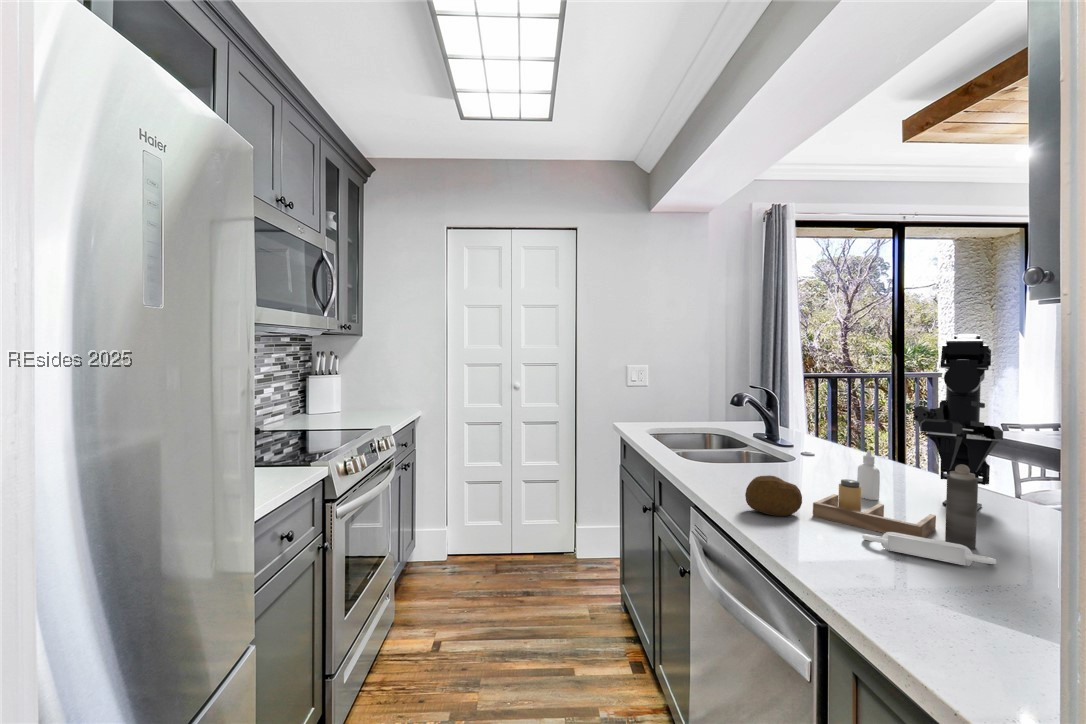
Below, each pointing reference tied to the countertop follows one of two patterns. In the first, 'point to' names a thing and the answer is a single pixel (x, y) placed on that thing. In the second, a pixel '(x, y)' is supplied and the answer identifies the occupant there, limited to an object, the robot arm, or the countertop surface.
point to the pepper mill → (961, 507)
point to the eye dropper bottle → (869, 478)
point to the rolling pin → (928, 548)
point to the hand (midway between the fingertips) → (960, 470)
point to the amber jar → (850, 495)
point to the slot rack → (871, 518)
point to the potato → (773, 496)
